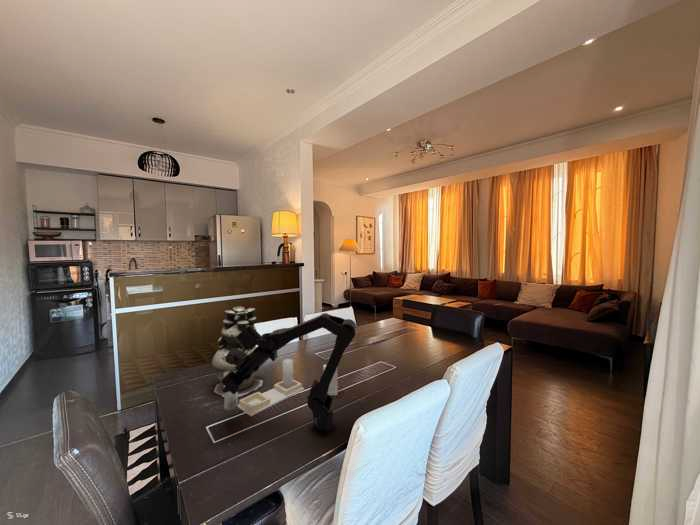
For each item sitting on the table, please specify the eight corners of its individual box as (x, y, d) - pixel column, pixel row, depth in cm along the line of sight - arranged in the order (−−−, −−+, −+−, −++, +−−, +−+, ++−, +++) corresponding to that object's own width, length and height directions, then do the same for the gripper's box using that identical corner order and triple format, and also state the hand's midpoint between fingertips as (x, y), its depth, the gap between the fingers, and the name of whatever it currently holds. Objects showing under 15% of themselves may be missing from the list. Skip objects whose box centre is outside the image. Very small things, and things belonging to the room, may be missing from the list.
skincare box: (337, 390, 123) (337, 363, 122) (338, 395, 118) (338, 367, 117) (323, 391, 122) (323, 363, 121) (323, 396, 118) (323, 368, 117)
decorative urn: (272, 383, 130) (273, 308, 128) (232, 404, 112) (233, 316, 110) (241, 371, 141) (242, 302, 139) (200, 389, 122) (201, 309, 121)
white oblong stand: (303, 389, 123) (303, 360, 122) (250, 416, 104) (250, 382, 103) (289, 382, 129) (289, 354, 129) (237, 406, 110) (236, 373, 109)
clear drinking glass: (240, 406, 100) (239, 371, 99) (228, 411, 97) (227, 376, 96) (234, 401, 103) (233, 368, 102) (222, 406, 99) (221, 372, 99)
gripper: (252, 333, 107) (225, 361, 109) (226, 352, 89) (194, 385, 90) (272, 354, 107) (245, 381, 109) (251, 378, 88) (218, 410, 90)
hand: (227, 388), depth 99 cm, fingers closed on clear drinking glass, 4 cm apart
